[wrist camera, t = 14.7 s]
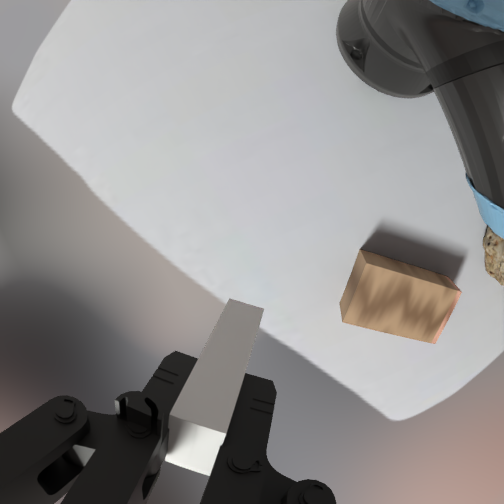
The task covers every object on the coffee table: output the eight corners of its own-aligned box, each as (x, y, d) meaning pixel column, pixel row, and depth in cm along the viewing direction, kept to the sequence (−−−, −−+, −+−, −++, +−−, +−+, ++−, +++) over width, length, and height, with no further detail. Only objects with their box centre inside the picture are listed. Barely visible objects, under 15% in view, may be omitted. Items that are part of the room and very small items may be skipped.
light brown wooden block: (366, 263, 33) (461, 291, 32) (359, 248, 38) (447, 276, 37) (342, 322, 36) (434, 343, 35) (339, 302, 41) (424, 324, 39)
